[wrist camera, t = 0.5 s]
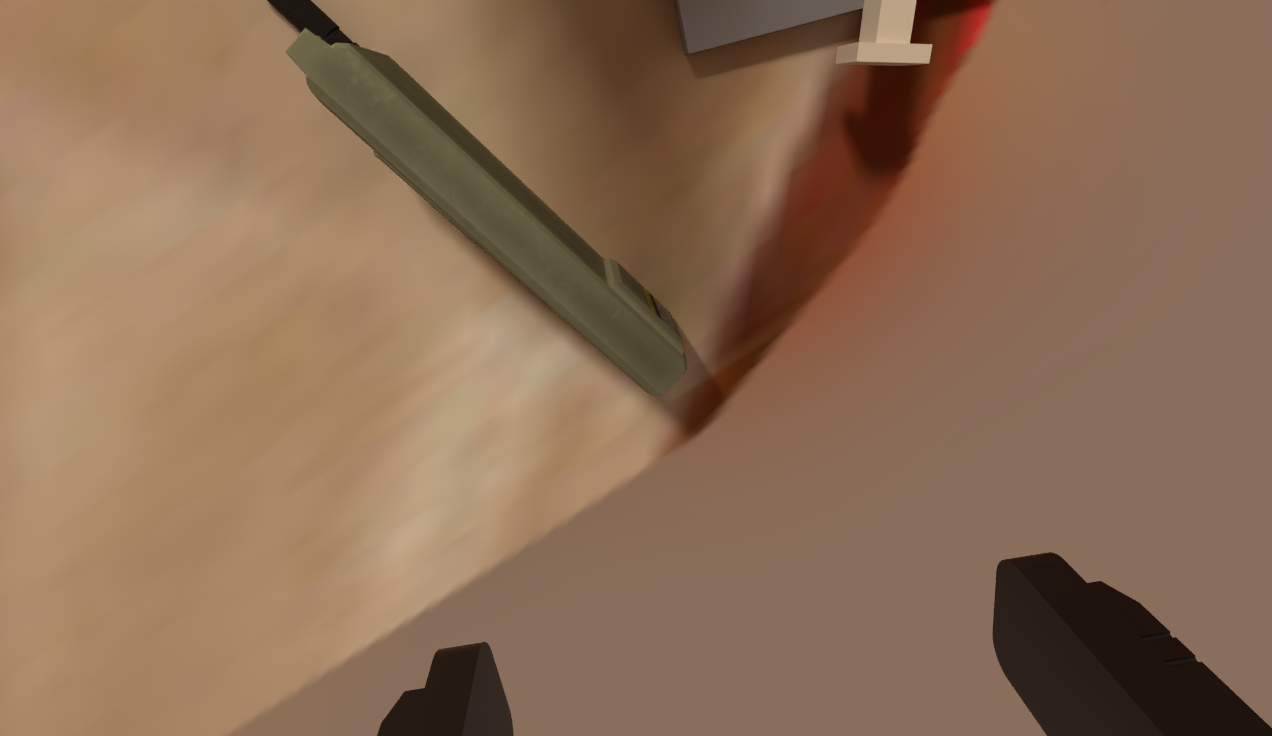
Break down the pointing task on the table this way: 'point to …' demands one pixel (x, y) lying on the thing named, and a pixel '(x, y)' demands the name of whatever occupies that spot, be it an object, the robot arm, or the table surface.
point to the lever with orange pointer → (885, 37)
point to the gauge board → (749, 18)
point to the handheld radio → (485, 199)
